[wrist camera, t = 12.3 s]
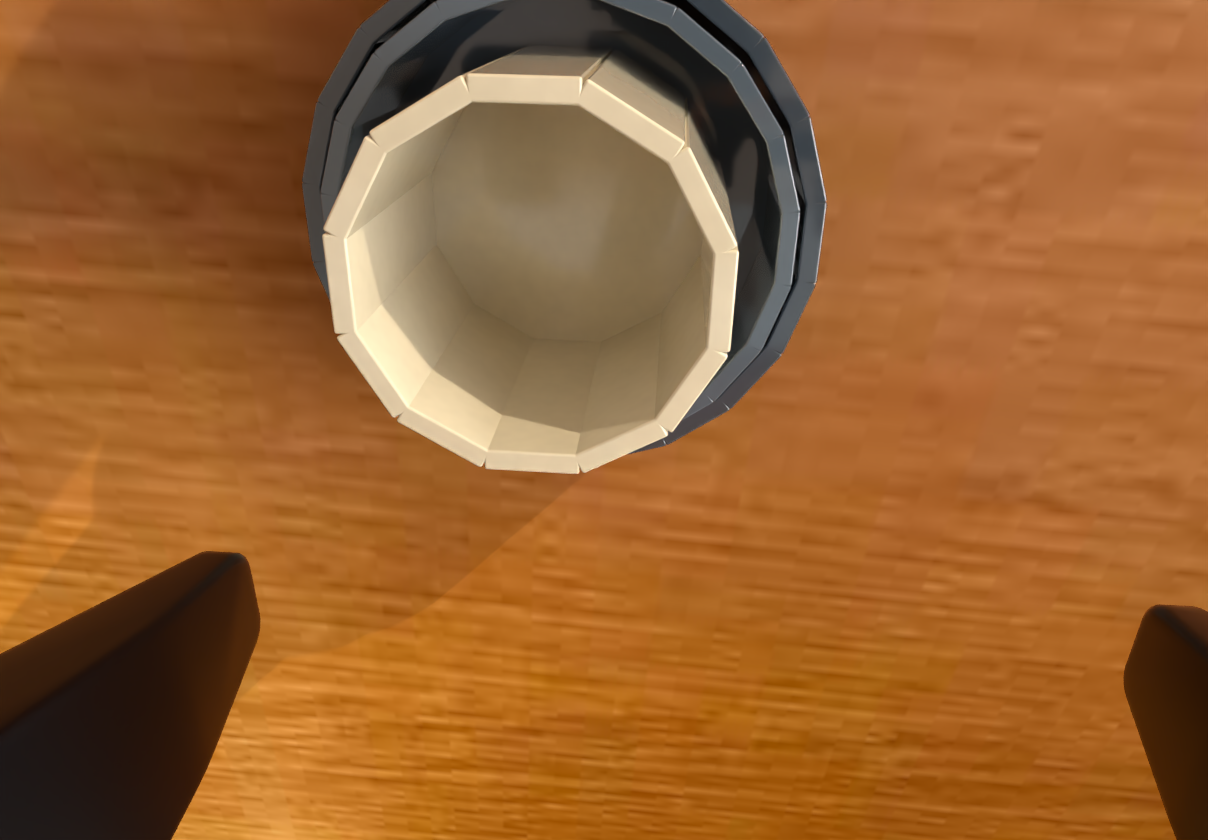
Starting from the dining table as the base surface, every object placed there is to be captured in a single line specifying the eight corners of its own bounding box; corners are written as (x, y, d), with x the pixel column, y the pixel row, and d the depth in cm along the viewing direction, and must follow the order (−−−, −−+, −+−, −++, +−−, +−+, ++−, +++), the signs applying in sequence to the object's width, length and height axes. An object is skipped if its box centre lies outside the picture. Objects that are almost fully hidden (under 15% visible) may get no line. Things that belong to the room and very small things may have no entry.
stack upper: (758, 391, 22) (771, 460, 19) (395, 373, 22) (349, 437, 19) (802, -21, 18) (828, -20, 15) (358, -31, 18) (291, -32, 15)
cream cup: (709, 353, 21) (718, 483, 16) (433, 339, 21) (349, 462, 16) (733, 50, 18) (754, 81, 13) (412, 41, 18) (299, 68, 13)
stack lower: (778, 412, 22) (792, 473, 19) (376, 392, 23) (336, 447, 20) (834, -51, 17) (861, -56, 15) (329, -61, 18) (267, -68, 15)
